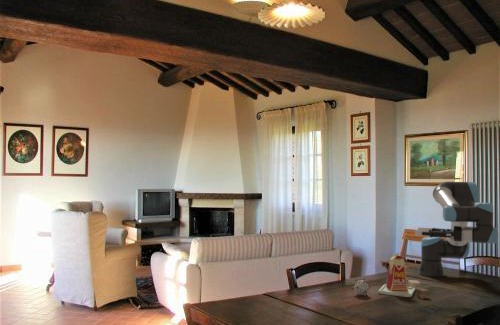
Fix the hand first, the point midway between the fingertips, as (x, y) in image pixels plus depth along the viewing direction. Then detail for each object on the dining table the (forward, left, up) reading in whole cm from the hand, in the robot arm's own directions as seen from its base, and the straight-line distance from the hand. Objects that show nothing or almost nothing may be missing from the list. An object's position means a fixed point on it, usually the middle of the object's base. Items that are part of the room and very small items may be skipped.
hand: (416, 231), depth 232 cm
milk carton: (0, -10, -32) cm, 33 cm away
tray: (0, -10, -32) cm, 33 cm away
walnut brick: (+5, +3, -32) cm, 33 cm away
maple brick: (-12, -3, -32) cm, 34 cm away
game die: (+16, -25, -32) cm, 44 cm away
